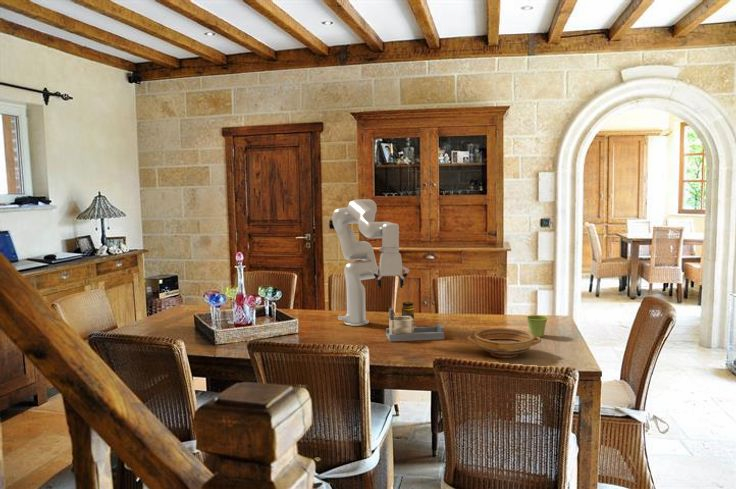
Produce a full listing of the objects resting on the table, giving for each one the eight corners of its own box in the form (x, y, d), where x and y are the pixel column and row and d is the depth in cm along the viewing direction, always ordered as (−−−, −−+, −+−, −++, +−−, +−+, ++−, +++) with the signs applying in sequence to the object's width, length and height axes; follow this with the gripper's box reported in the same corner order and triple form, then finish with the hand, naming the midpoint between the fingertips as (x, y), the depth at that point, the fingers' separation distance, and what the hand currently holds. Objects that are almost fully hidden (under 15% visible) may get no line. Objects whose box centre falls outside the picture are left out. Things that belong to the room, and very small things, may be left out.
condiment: (417, 327, 286) (417, 303, 285) (404, 329, 281) (403, 305, 280) (408, 324, 292) (408, 300, 291) (395, 326, 287) (394, 302, 286)
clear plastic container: (391, 338, 261) (391, 311, 260) (388, 333, 270) (388, 307, 269) (413, 337, 262) (413, 310, 261) (410, 332, 271) (410, 306, 270)
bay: (389, 341, 260) (389, 330, 259) (386, 334, 272) (385, 324, 271) (444, 339, 262) (444, 328, 262) (438, 332, 274) (438, 322, 274)
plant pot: (546, 339, 259) (547, 320, 259) (525, 337, 263) (525, 319, 262) (548, 334, 268) (548, 315, 267) (527, 332, 271) (527, 314, 271)
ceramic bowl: (467, 361, 229) (467, 341, 228) (467, 344, 253) (467, 326, 252) (545, 363, 224) (545, 343, 223) (537, 346, 248) (537, 328, 247)
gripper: (372, 252, 257) (372, 289, 259) (410, 251, 259) (410, 288, 261) (370, 249, 265) (370, 286, 267) (408, 249, 267) (407, 285, 269)
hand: (390, 287), depth 264 cm, fingers open, 9 cm apart
